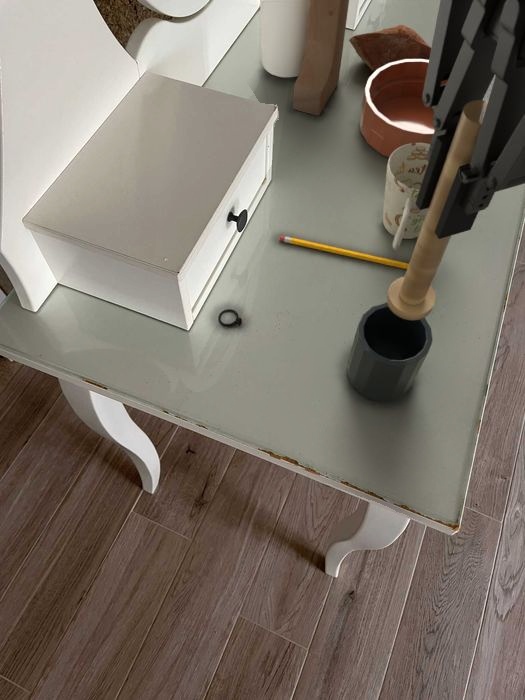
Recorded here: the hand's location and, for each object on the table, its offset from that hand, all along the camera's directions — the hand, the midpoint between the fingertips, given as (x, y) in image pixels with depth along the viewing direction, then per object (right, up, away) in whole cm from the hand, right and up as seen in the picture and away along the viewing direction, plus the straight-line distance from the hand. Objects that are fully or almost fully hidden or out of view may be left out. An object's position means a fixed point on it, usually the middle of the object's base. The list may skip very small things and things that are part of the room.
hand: (442, 216), depth 45 cm
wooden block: (-6, +30, +47) cm, 56 cm away
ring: (-18, -7, +27) cm, 33 cm away
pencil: (-2, +2, +32) cm, 32 cm away
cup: (-10, +36, +51) cm, 63 cm away
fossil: (+7, +36, +51) cm, 62 cm away
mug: (+5, +5, +33) cm, 34 cm away
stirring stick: (0, -6, +10) cm, 12 cm away
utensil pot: (0, -13, +23) cm, 26 cm away
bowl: (+9, +23, +44) cm, 50 cm away
